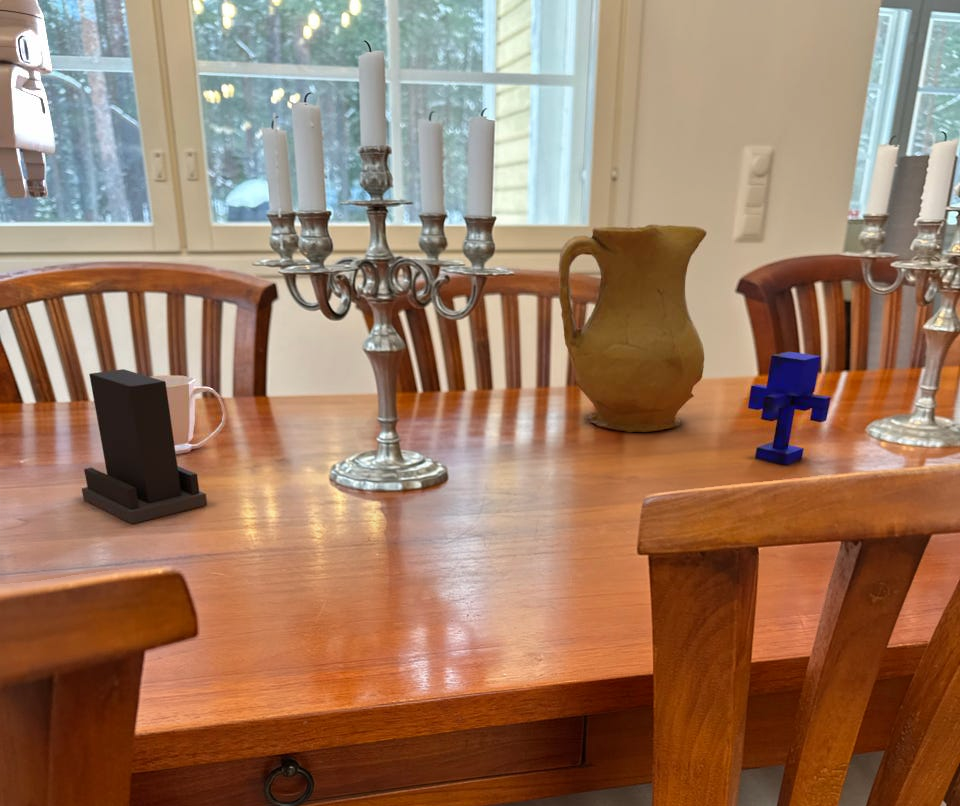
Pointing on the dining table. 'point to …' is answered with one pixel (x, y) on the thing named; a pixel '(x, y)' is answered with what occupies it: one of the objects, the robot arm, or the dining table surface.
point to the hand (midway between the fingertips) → (29, 197)
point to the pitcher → (635, 326)
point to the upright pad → (137, 432)
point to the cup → (186, 410)
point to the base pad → (133, 510)
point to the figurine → (788, 402)
